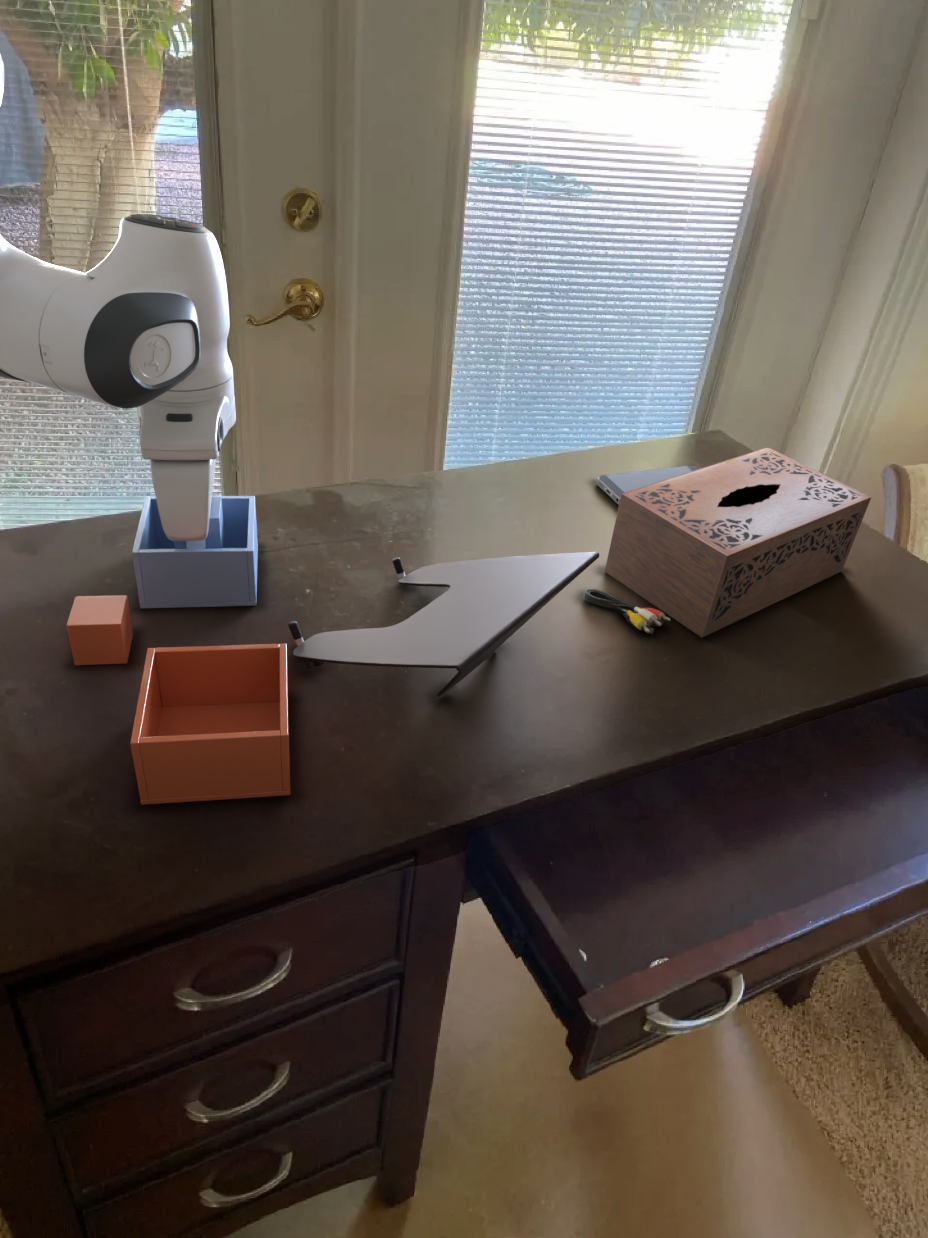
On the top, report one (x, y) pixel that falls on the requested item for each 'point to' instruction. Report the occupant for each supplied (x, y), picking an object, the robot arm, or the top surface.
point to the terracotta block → (100, 630)
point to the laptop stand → (452, 614)
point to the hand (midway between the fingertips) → (198, 532)
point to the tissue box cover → (733, 537)
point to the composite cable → (628, 610)
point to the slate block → (211, 527)
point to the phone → (637, 479)
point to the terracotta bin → (212, 724)
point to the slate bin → (198, 561)
